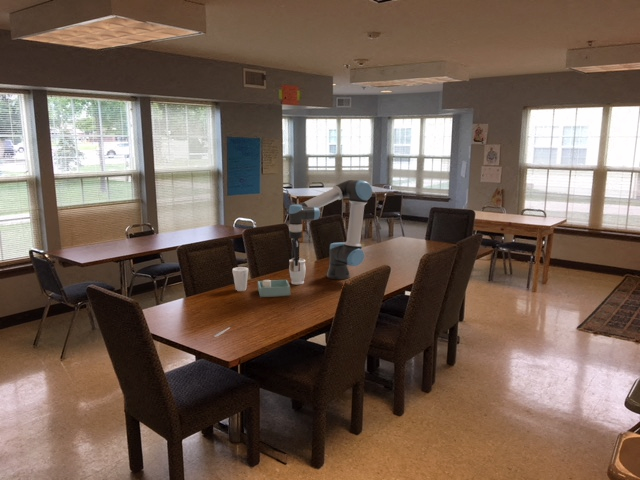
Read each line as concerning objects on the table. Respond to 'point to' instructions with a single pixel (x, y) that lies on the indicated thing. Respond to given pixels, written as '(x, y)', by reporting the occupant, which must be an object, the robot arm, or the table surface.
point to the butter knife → (221, 332)
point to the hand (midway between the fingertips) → (295, 269)
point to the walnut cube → (293, 266)
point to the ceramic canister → (266, 283)
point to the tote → (274, 288)
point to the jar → (298, 273)
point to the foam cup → (240, 278)
